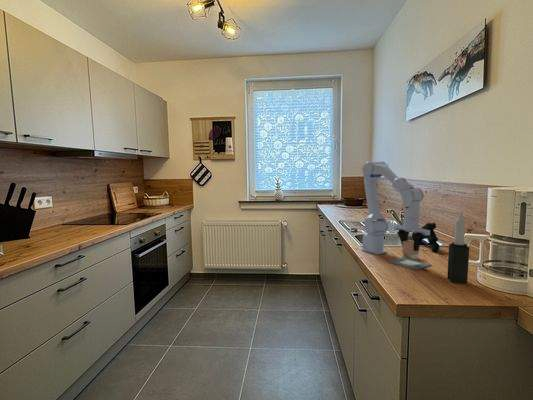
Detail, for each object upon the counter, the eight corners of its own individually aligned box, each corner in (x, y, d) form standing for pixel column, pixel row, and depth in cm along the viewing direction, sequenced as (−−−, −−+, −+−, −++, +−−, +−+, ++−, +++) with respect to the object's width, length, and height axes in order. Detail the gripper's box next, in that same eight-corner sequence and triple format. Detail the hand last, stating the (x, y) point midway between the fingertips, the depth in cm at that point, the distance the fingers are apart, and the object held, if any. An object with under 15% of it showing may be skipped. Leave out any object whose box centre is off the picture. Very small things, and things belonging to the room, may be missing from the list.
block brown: (402, 252, 120) (402, 241, 120) (408, 251, 122) (408, 239, 122) (412, 255, 116) (413, 243, 116) (418, 253, 118) (419, 242, 118)
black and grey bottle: (468, 284, 98) (472, 212, 95) (452, 283, 99) (456, 212, 96) (461, 278, 103) (465, 210, 100) (446, 277, 104) (449, 210, 101)
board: (389, 262, 122) (389, 261, 122) (404, 258, 128) (404, 257, 127) (416, 270, 112) (416, 269, 112) (431, 265, 117) (431, 264, 117)
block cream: (403, 257, 129) (403, 246, 129) (408, 255, 132) (409, 245, 131) (412, 259, 125) (413, 248, 125) (418, 258, 128) (418, 247, 127)
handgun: (423, 259, 155) (419, 233, 160) (443, 250, 134) (437, 220, 140) (414, 259, 155) (410, 233, 161) (433, 250, 134) (427, 220, 140)
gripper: (434, 218, 114) (433, 251, 115) (401, 214, 126) (400, 244, 127) (425, 220, 110) (423, 254, 111) (391, 215, 122) (390, 246, 123)
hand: (410, 249), depth 119 cm, fingers closed on block brown, 4 cm apart
